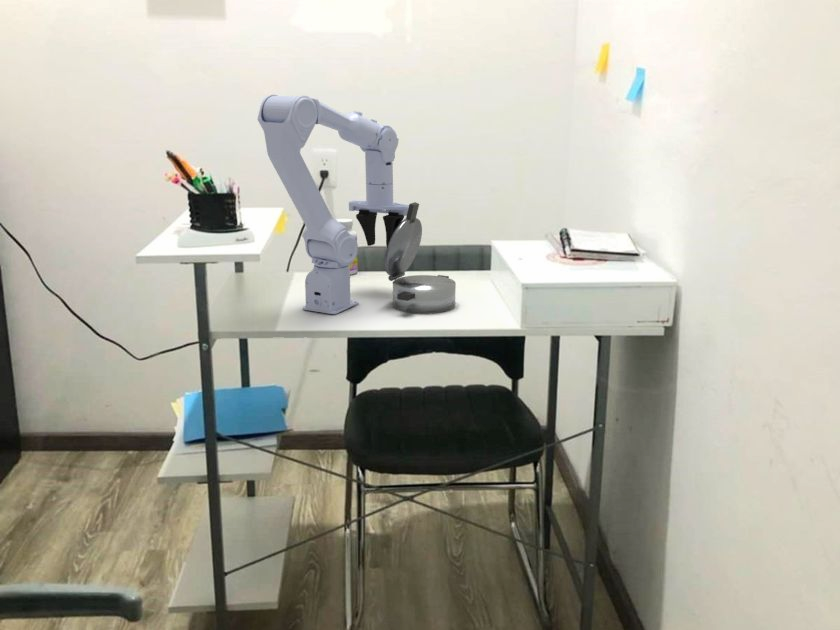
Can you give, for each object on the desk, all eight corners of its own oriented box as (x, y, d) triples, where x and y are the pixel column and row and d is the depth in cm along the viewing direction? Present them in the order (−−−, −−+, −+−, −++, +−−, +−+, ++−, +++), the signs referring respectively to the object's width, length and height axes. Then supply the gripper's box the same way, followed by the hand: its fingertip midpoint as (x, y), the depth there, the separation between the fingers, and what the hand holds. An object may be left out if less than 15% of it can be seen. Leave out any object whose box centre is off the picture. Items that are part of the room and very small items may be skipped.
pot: (431, 320, 158) (432, 296, 157) (374, 311, 164) (374, 288, 163) (470, 298, 174) (471, 276, 173) (417, 291, 180) (417, 269, 179)
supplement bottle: (356, 276, 193) (355, 222, 189) (328, 276, 193) (327, 222, 189) (358, 269, 199) (358, 217, 196) (331, 269, 199) (330, 217, 196)
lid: (401, 209, 159) (396, 207, 159) (383, 286, 165) (378, 283, 165) (431, 200, 170) (426, 198, 170) (412, 272, 176) (408, 270, 177)
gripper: (418, 182, 172) (419, 245, 176) (360, 178, 178) (361, 239, 182) (402, 187, 166) (403, 252, 170) (342, 182, 172) (344, 245, 176)
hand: (380, 245), depth 176 cm, fingers open, 4 cm apart
